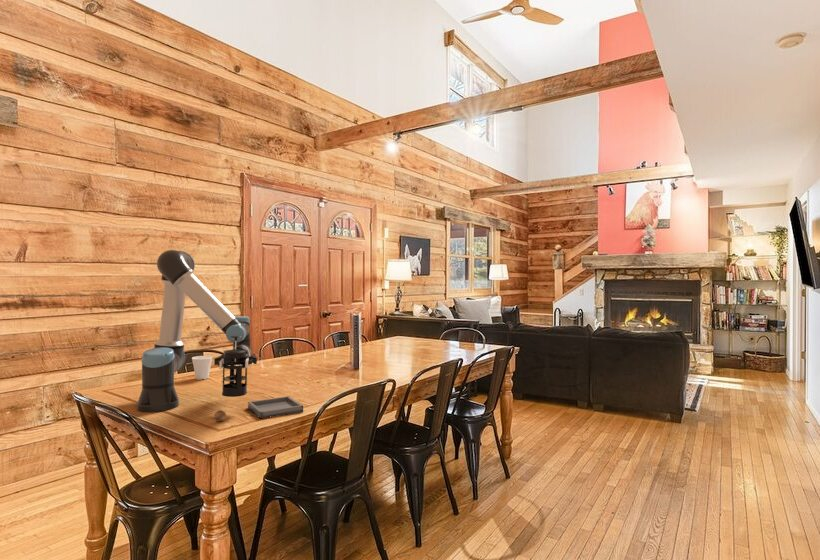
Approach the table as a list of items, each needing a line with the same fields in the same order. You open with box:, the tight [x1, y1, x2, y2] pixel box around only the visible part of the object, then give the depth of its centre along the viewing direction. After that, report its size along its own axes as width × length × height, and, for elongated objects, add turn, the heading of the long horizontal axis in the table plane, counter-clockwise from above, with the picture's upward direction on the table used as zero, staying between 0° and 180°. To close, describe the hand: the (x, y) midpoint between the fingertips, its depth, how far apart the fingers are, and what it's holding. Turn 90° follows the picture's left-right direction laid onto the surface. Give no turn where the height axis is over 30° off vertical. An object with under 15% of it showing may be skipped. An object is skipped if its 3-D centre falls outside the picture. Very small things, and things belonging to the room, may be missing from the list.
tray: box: [247, 395, 304, 419], centre depth 193 cm, size 17×17×2 cm
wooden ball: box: [214, 409, 227, 422], centre depth 178 cm, size 4×4×4 cm
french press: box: [221, 336, 248, 398], centre depth 189 cm, size 12×9×23 cm
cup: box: [191, 355, 214, 381], centre depth 247 cm, size 10×10×11 cm
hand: (233, 364), depth 184 cm, fingers closed on french press, 9 cm apart
